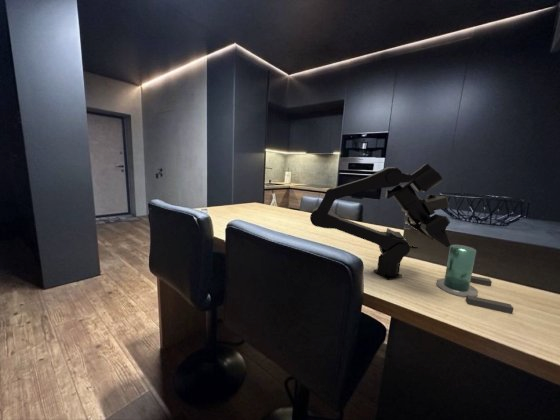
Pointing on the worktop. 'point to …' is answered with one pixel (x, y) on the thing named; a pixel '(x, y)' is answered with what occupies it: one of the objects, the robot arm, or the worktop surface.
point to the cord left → (481, 280)
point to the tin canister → (459, 267)
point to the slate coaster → (470, 292)
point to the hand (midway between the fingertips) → (440, 242)
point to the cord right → (489, 304)
